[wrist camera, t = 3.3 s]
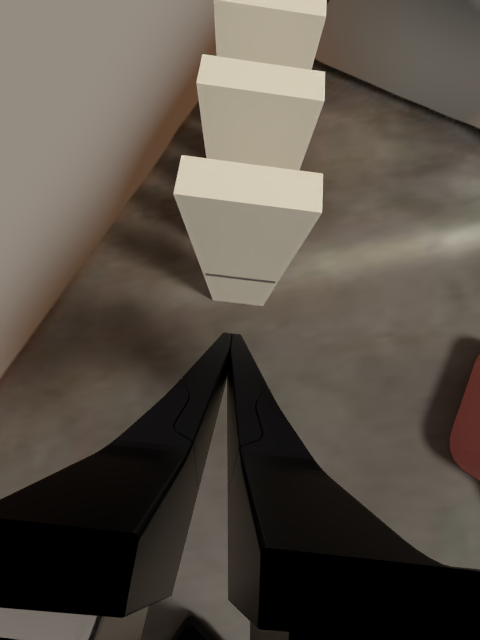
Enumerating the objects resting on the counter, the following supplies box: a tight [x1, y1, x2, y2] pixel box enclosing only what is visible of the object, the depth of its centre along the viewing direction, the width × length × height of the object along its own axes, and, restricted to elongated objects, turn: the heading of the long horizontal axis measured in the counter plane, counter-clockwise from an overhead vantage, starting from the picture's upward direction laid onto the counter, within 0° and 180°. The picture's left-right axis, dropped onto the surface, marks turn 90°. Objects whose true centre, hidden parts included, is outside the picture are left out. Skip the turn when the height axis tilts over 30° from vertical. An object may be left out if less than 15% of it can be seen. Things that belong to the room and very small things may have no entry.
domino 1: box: [173, 155, 323, 306], centre depth 12 cm, size 2×5×12 cm, turn 84°
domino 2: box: [196, 54, 325, 170], centre depth 13 cm, size 2×5×12 cm, turn 84°
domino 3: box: [214, 0, 327, 70], centre depth 14 cm, size 2×5×12 cm, turn 84°
